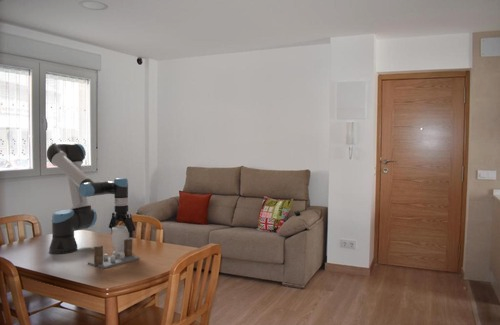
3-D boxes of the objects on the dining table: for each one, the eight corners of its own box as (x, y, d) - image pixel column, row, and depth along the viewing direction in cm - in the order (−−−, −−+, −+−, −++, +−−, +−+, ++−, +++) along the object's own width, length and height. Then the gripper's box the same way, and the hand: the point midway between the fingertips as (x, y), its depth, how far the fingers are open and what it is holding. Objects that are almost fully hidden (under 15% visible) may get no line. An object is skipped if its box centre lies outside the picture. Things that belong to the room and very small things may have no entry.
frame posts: (94, 265, 213) (94, 246, 213) (128, 256, 232) (128, 238, 231) (97, 266, 212) (97, 247, 211) (132, 257, 230) (132, 239, 229)
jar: (125, 255, 233) (125, 229, 233) (108, 254, 235) (108, 228, 235) (134, 251, 243) (134, 225, 243) (118, 250, 246) (118, 225, 245)
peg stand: (87, 264, 216) (87, 256, 216) (122, 255, 235) (121, 248, 234) (104, 268, 209) (104, 260, 208) (138, 258, 227) (138, 251, 227)
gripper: (102, 204, 242) (102, 240, 243) (130, 207, 228) (131, 245, 229) (112, 202, 248) (113, 238, 249) (141, 205, 234) (141, 243, 235)
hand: (122, 241), depth 239 cm, fingers open, 13 cm apart
